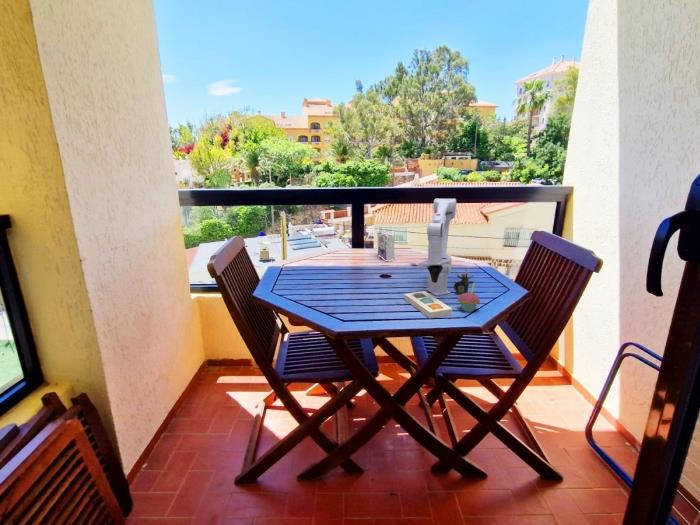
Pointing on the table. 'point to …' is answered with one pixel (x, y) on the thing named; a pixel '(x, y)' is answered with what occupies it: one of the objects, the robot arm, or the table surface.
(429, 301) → the teal button
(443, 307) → the button panel
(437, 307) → the orange button
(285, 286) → the table surface
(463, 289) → the artificial flower
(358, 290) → the table surface
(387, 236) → the candy box
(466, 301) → the cupcake
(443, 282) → the robot arm
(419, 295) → the grey button
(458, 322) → the table surface
